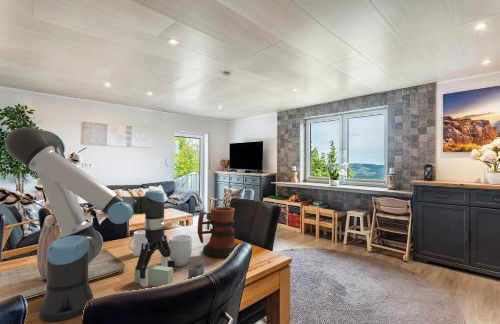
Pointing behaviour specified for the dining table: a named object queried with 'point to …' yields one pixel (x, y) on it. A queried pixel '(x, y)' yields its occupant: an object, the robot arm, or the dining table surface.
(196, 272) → the cap near
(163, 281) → the pale green long block
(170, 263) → the cap far
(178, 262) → the mug
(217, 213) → the tankard
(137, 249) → the mug
